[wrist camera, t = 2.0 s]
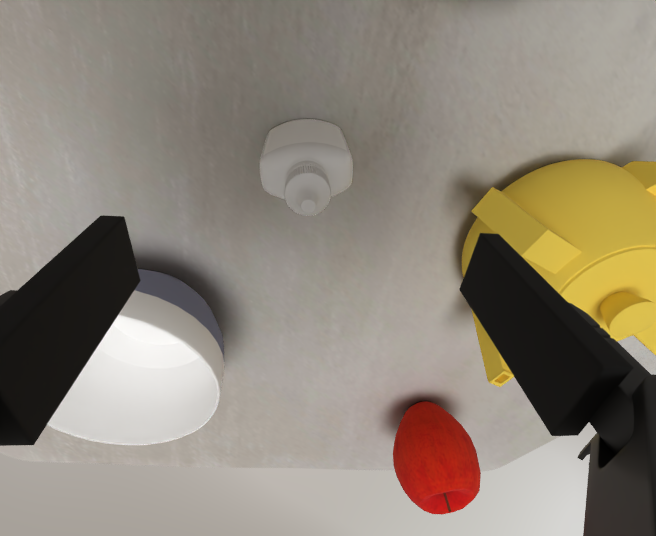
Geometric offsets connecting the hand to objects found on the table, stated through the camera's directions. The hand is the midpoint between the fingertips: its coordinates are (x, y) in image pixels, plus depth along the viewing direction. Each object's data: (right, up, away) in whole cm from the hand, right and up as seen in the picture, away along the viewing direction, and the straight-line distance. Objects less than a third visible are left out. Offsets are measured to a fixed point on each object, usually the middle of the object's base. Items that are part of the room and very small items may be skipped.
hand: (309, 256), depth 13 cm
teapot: (+20, +3, +20) cm, 28 cm away
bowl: (-16, -4, +21) cm, 27 cm away
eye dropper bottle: (-1, +9, +13) cm, 16 cm away
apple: (+13, -19, +34) cm, 41 cm away
